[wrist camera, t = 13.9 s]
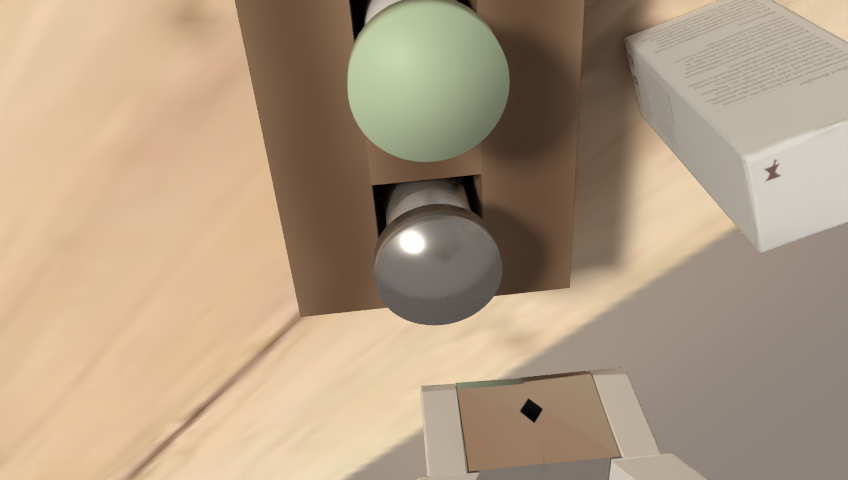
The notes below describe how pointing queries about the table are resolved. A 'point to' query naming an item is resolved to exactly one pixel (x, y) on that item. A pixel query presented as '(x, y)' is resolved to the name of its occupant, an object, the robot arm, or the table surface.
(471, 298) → the plug
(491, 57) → the plug mid
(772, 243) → the skincare box
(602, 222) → the table surface
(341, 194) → the block
